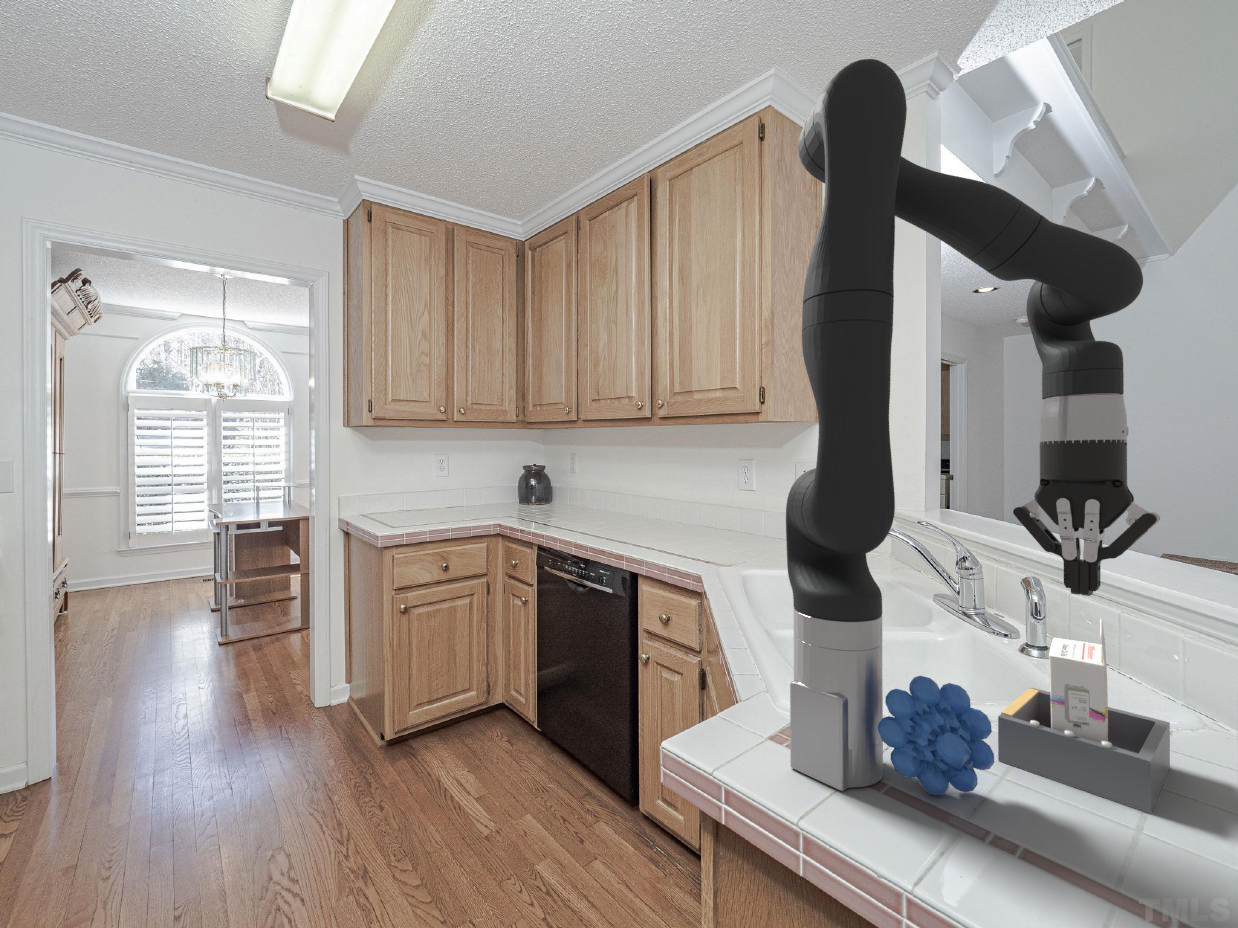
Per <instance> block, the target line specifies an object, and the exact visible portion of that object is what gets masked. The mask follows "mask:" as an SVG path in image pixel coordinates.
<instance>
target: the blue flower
mask: <svg viewBox="0 0 1238 928" xmlns="http://www.w3.org/2000/svg"><path fill="white" fill-rule="evenodd" d="M908 686H909V689H908V690H909V691H906V690H903V689H899V688H894V689H891V690H890V691H888V692H887V694H886V696H885V706H886V708H887V710H888V713H890V715H892V716H889V715H888V716H884V717H883V719H882V720H881V721H880V722H879V724H878V732H879V734H880V736H881V739H882V741H883V744H884V743H885V744H886V746H887V747H890V748H893V750H892V751H891V752H890V761H891V764H892V766H893V768H894V770H895V771H896V772H897V773H898V774H899V775H900V776H902V777H904V778H907V779H913V778H917V780H918V782H919V784H920V787H921V788H922V789H924V791H925V792H927V793H928V794H931V795H934V796H940V795H944V794H945V793H947V791H948V789H949V788H950V785H951V786H952V787H953V788H954V789H955V790H957V791H960V792H962V793H968V792H969V793H970V792H973V791H974V790H975V789H976V787H977V786H978V783H979V782H978V774H977V773H976V771H975V769H976V770H979V771H987V770H990V769H991V768H992V766H993V765H994V764H995V754H994V751H993V749H992V748H991V746H990V745H989V744H988V743H987V742H986V741H984V740H986V739H988V738H989V736H990V735H991V733H992V731H993V730H992V722H991V721H990V718H989V717H988V715H987V714H986V713H984V712H983V711H982V710H981V709H978V708H973V707H971V697H970V696H969V694H968V692H967V690H966V689H965V688H963V687H962V686H961V685H958V684H954V683H950V682H948V683H944V684H943V685H942V686H941V687H939V685H938V683H937V682H936V681H935V680H934V679H932V678H930V677H927V676H923V675H919V676H915V677H913V678H912V679H911V681H910V683H909V685H908Z"/></svg>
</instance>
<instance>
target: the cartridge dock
mask: <svg viewBox="0 0 1238 928" xmlns="http://www.w3.org/2000/svg"><path fill="white" fill-rule="evenodd" d="M1000 712H1001V713H1000V714H999V715H998V716H997V718H998V719H997V723H998V724H997V725H998V729H997V730H998V731H997V733H998V734H997V735H998V736H997V739H998V740H997V742H998V743H997V744H998V745H997V748H998V751H997V752H998V755H997V756H998V762H1000V763H1003V764H1006V765H1009V766H1012V767H1016V768H1018V769H1021V770H1024V771H1027V772H1029V773H1032V774H1036V775H1037V776H1041V777H1044V778H1046V779H1050V780H1052V781H1056V782H1058V783H1061V784H1064V785H1067V786H1070V787H1073V788H1076V789H1078V790H1081V791H1083V792H1087V793H1089V794H1092V795H1096V796H1098V797H1102V798H1105V799H1107V800H1110V801H1112V802H1115V803H1118V804H1121V805H1124V806H1127V807H1130V808H1133V809H1137V810H1138V811H1141V812H1144V813H1148V814H1150V815H1151V814H1152V812H1153V810H1154V807H1155V805H1156V802H1157V800H1158V797H1159V795H1160V792H1161V790H1162V788H1163V785H1164V782H1165V780H1166V778H1167V776H1168V774H1169V771H1170V769H1171V760H1170V759H1171V758H1170V757H1171V756H1170V755H1171V752H1170V751H1171V744H1170V742H1171V739H1170V738H1171V733H1170V732H1171V731H1170V729H1171V728H1170V727H1171V723H1170V721H1166V720H1162V719H1158V718H1154V717H1151V716H1150V717H1149V716H1146V715H1142V714H1138V713H1134V712H1129V711H1126V710H1122V709H1119V708H1115V707H1110V706H1108V741H1101V743H1099V742H1095V741H1092V740H1089V739H1085V738H1082V737H1078V736H1075V735H1074V732H1072V731H1069V730H1065V731H1064V732H1061V731H1058V730H1054V729H1051V700H1050V691H1046V690H1042V689H1040V688H1039V689H1038V688H1035V687H1031V688H1030V687H1029V688H1028V689H1027V690H1025V691H1024V692H1023V693H1022V694H1021V695H1020V696H1019V697H1017V698H1016V699H1015V700H1013V702H1011V703H1010V704H1009V705H1008V706H1007V707H1005V708H1004V709H1003V710H1002V711H1000Z"/></svg>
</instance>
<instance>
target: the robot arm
mask: <svg viewBox="0 0 1238 928" xmlns="http://www.w3.org/2000/svg"><path fill="white" fill-rule="evenodd" d="M907 107H908V106H907V98H906V91H905V89H904V86H903V83H902V81H901V80H900V77H899V76H898V74H897V73H896V71H894V70H893V68H891V67H890V66H889V65H888V64H886V63H885V62H883V61H881V60H878V59H875V58H864V59H859V60H857V61H853V62H850V63H849V64H848V65H846V66H844V67H843V68H842V69H841V70H839V71H838V72H837V73H836V75H834V76H833V78H831V80H830V81H828V83H827V84H826V85H825V87H824V88H823V90H822V91H821V94H820V95H819V97H817V101H816V102H815V104H814V105H813V108H812V110H811V112H810V114H809V115H808V118H807V119H806V122H805V123H804V125H803V127H802V130H801V131H800V135H799V138H798V146H797V147H798V148H797V149H798V156H799V160H800V162H801V164H802V166H803V167H804V169H805V170H806V171H807V172H808V173H809V175H811V176H812V177H814V179H816V180H818V181H820V182H821V183H823V184H824V185H825V186H824V196H823V197H824V199H823V207H822V211H821V217H820V220H819V224H818V228H817V232H816V236H815V238H814V243H813V246H812V251H811V255H810V258H809V261H808V266H807V271H806V276H805V280H804V281H805V282H804V288H803V297H802V313H801V314H802V315H801V316H802V319H801V320H802V321H801V346H802V348H801V349H802V355H803V361H804V365H805V369H806V373H807V375H808V376H807V377H808V380H809V384H810V388H811V390H812V394H813V397H814V401H815V405H816V411H817V419H818V420H817V421H818V438H817V441H818V443H817V455H816V465H815V466H816V467H815V468H812V469H810V470H808V471H805V472H804V473H803V474H801V475H800V476H799V477H798V478H797V479H795V480H794V483H793V484H792V486H791V488H790V490H789V492H788V494H787V495H788V496H787V499H786V507H785V534H786V535H785V538H786V539H785V540H786V557H787V558H786V564H787V566H786V567H787V574H788V575H787V576H788V580H789V584H790V587H791V590H792V599H793V681H791V682H790V685H789V686H790V687H789V693H790V694H789V697H790V698H789V704H790V705H789V706H790V707H789V710H790V711H789V713H790V715H789V718H790V720H789V724H790V725H789V726H790V728H789V729H790V737H789V738H790V739H789V740H790V743H789V744H790V751H789V752H790V753H789V754H790V757H789V758H790V759H789V761H790V768H791V769H794V770H795V771H798V772H799V773H802V774H804V775H806V776H809V777H810V778H813V779H815V780H817V781H819V782H822V783H823V784H825V785H827V786H830V787H832V788H834V789H836V790H838V791H841V792H843V791H845V790H846V789H848V788H863V787H868V786H872V785H874V784H877V783H878V782H879V781H881V780H882V778H883V777H884V776H883V775H884V754H883V753H884V752H883V751H884V742H883V741H882V739H881V736H880V734H879V732H878V724H879V722H880V721H881V720H882V719H883V718H884V717H883V715H884V714H883V712H884V711H883V710H884V709H883V704H884V703H883V702H884V701H883V700H884V699H883V696H884V695H883V595H882V591H881V589H880V587H879V585H878V583H877V582H876V581H875V579H874V578H873V575H872V573H871V571H870V569H869V565H868V561H867V554H868V553H870V552H872V551H874V550H875V549H877V548H878V547H879V546H880V545H882V544H883V543H884V541H885V540H886V538H887V536H888V535H889V534H890V531H891V528H892V526H893V522H894V519H895V512H896V511H895V509H896V501H895V500H896V499H895V498H896V497H895V495H896V494H895V485H894V483H895V482H894V471H893V460H892V459H893V458H892V450H891V449H892V446H891V434H890V401H891V367H892V365H891V364H892V363H891V362H892V343H893V332H894V330H893V329H894V307H895V306H894V304H895V303H894V301H895V299H894V297H895V294H894V291H895V290H894V287H895V284H894V271H895V270H894V269H895V268H894V267H895V265H894V264H895V243H896V240H895V237H896V235H895V233H896V218H898V219H900V220H903V221H904V222H907V223H909V224H911V225H913V226H915V227H917V228H919V229H921V230H922V231H924V232H926V233H928V234H930V235H931V236H934V237H935V238H936V239H938V240H940V241H942V242H943V243H945V244H946V245H947V246H949V247H951V248H952V249H954V250H955V251H956V252H957V253H960V254H961V255H962V256H964V257H965V258H967V259H969V260H970V262H972V263H974V264H975V265H977V266H978V267H980V268H982V269H983V270H984V271H986V272H987V273H989V274H990V275H991V276H993V277H995V278H997V279H998V280H1001V281H1006V282H1012V281H1013V282H1014V281H1021V280H1031V281H1032V280H1034V282H1033V284H1032V285H1031V287H1030V289H1029V292H1028V295H1027V300H1026V317H1027V322H1028V325H1029V328H1030V331H1031V334H1032V339H1033V341H1034V345H1035V348H1036V351H1037V355H1039V356H1038V357H1039V359H1040V362H1041V365H1042V366H1041V367H1042V368H1041V369H1042V371H1041V388H1042V389H1041V399H1042V400H1041V409H1040V414H1039V485H1038V488H1037V490H1036V491H1035V492H1034V494H1033V495H1034V498H1033V500H1031V501H1029V502H1027V503H1025V504H1023V505H1022V506H1017V507H1014V508H1013V511H1012V513H1013V515H1014V517H1015V518H1016V519H1017V520H1018V521H1019V522H1020V523H1021V525H1022V526H1023V527H1024V528H1025V529H1026V531H1028V533H1029V534H1030V535H1031V537H1032V538H1033V539H1034V540H1035V541H1036V542H1037V543H1038V544H1039V546H1040V547H1041V548H1042V549H1043V550H1044V551H1045V552H1047V553H1052V554H1055V555H1056V556H1058V557H1060V558H1061V559H1062V561H1063V584H1064V586H1065V588H1067V589H1070V594H1072V595H1079V596H1080V595H1081V596H1086V597H1091V596H1092V595H1093V593H1094V592H1096V591H1098V590H1099V589H1100V587H1101V586H1102V585H1101V582H1102V581H1101V564H1102V563H1101V562H1102V561H1105V560H1109V559H1110V560H1111V559H1113V560H1114V559H1117V558H1118V557H1120V556H1122V555H1123V554H1124V553H1125V552H1126V551H1128V549H1130V548H1131V547H1132V546H1133V545H1134V544H1136V542H1137V541H1139V540H1140V539H1141V538H1142V537H1143V536H1144V535H1145V534H1147V533H1148V532H1149V531H1150V530H1151V529H1152V528H1153V527H1154V526H1156V524H1157V523H1159V521H1160V520H1161V519H1160V517H1161V516H1160V515H1159V513H1156V512H1154V511H1152V512H1151V511H1150V510H1147V509H1146V508H1144V507H1143V506H1141V505H1139V504H1138V503H1136V502H1134V500H1135V497H1134V495H1133V493H1132V492H1131V490H1130V489H1129V486H1128V436H1129V426H1128V417H1127V410H1126V403H1125V398H1124V397H1125V395H1124V394H1125V393H1124V392H1125V389H1124V386H1125V385H1124V379H1125V378H1124V377H1125V376H1124V375H1125V374H1124V355H1123V351H1122V349H1121V347H1120V346H1119V345H1118V344H1116V343H1114V342H1112V341H1105V340H1096V339H1095V337H1094V333H1093V331H1092V327H1091V321H1094V320H1097V319H1101V318H1103V317H1106V316H1109V315H1113V314H1116V313H1118V312H1120V311H1122V310H1124V309H1126V308H1127V307H1129V306H1130V305H1131V304H1133V303H1134V302H1135V301H1136V299H1137V298H1138V297H1139V295H1140V294H1141V292H1142V289H1143V284H1144V276H1143V271H1142V269H1141V266H1140V265H1139V263H1138V261H1137V260H1136V259H1135V258H1134V256H1133V255H1132V254H1131V253H1130V252H1129V251H1128V250H1126V249H1125V248H1123V247H1122V246H1119V245H1118V244H1115V243H1114V242H1112V241H1109V240H1107V239H1105V238H1101V237H1098V236H1095V235H1092V234H1089V233H1086V232H1084V231H1081V230H1078V229H1076V228H1072V227H1070V226H1069V227H1068V226H1066V225H1062V224H1058V223H1055V222H1052V221H1050V220H1049V219H1047V217H1045V216H1044V215H1043V214H1041V213H1040V212H1038V211H1037V210H1035V209H1034V208H1032V207H1031V206H1029V205H1028V204H1026V203H1025V202H1023V201H1022V200H1020V199H1019V198H1017V197H1016V196H1015V195H1014V194H1011V193H1009V192H1008V191H1006V190H1004V189H1002V188H1000V187H998V186H995V185H993V184H991V183H987V182H983V181H980V180H976V179H971V178H967V177H962V176H957V175H952V174H947V173H943V172H938V171H935V170H931V169H929V168H926V167H923V166H921V165H918V164H916V163H914V162H912V161H910V160H909V159H906V158H905V157H903V156H902V149H903V143H904V137H905V130H906V124H907V123H906V122H907V111H908V109H907ZM1041 510H1043V512H1044V513H1045V514H1046V515H1047V517H1049V518H1050V520H1051V521H1052V522H1053V523H1054V524H1055V525H1057V526H1058V532H1059V539H1060V541H1059V539H1058V538H1057V537H1056V536H1055V534H1054V533H1053V532H1052V531H1051V530H1050V529H1049V528H1048V527H1047V526H1046V525H1045V523H1044V522H1043V521H1042V520H1041V519H1042V518H1043V513H1042V511H1041ZM1126 511H1127V513H1128V515H1127V517H1126V518H1125V522H1126V524H1127V525H1128V526H1129V527H1128V528H1126V530H1124V532H1122V533H1121V534H1120V535H1119V536H1118V537H1117V538H1116V539H1114V541H1112V542H1111V544H1109V545H1107V546H1104V539H1105V536H1106V533H1105V532H1106V529H1108V528H1110V527H1112V525H1113V524H1114V523H1115V522H1116V521H1117V520H1118V519H1119V518H1120V517H1121V516H1123V514H1125V512H1126ZM1082 529H1083V552H1082V546H1081V545H1082V544H1081V536H1082V533H1081V530H1082ZM1081 555H1082V557H1083V559H1081Z"/></svg>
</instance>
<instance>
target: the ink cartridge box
mask: <svg viewBox="0 0 1238 928" xmlns="http://www.w3.org/2000/svg"><path fill="white" fill-rule="evenodd" d="M1099 627H1100V628H1099V629H1100V630H1099V636H1100V642H1101V643H1092V642H1087V641H1080V640H1075V639H1074V640H1073V639H1067V638H1061V637H1052V641H1051V644H1050V647H1049V648H1050V649H1049V652H1048V661H1049V662H1048V663H1049V692H1050V700H1051V729H1054V730H1058V731H1061V732H1064V731H1065V730H1069V731H1072V732H1074V735H1075V736H1078V737H1082V738H1085V739H1089V740H1092V741H1095V742H1099V743H1101V741H1108V707H1109V705H1108V704H1109V703H1108V702H1109V701H1108V700H1109V699H1108V697H1109V695H1108V692H1109V691H1108V671H1107V670H1108V669H1107V668H1108V667H1107V666H1108V665H1107V651H1106V650H1107V649H1106V641H1105V640H1106V638H1105V633H1104V632H1105V631H1104V630H1105V629H1104V623H1103V619H1102V618H1100V619H1099Z"/></svg>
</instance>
